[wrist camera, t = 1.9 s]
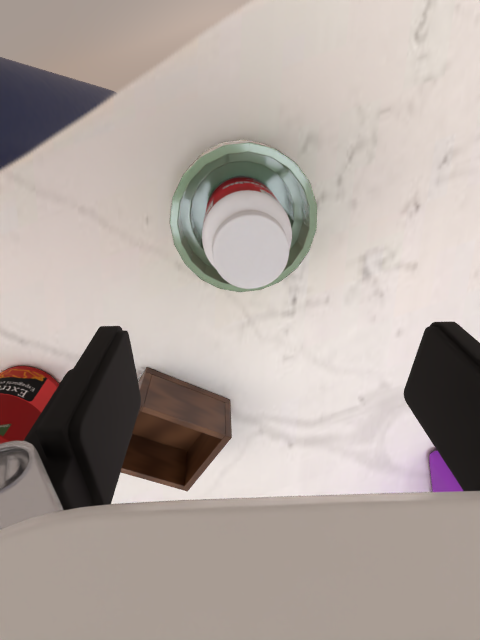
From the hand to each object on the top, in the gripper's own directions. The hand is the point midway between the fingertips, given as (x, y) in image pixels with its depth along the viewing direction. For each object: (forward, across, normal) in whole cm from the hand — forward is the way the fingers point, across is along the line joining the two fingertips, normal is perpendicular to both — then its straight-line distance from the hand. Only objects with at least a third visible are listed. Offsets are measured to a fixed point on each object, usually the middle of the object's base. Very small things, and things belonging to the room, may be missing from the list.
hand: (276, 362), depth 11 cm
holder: (+22, +9, +25) cm, 35 cm away
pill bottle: (+22, 0, 0) cm, 22 cm away
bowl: (+22, 0, 0) cm, 22 cm away
